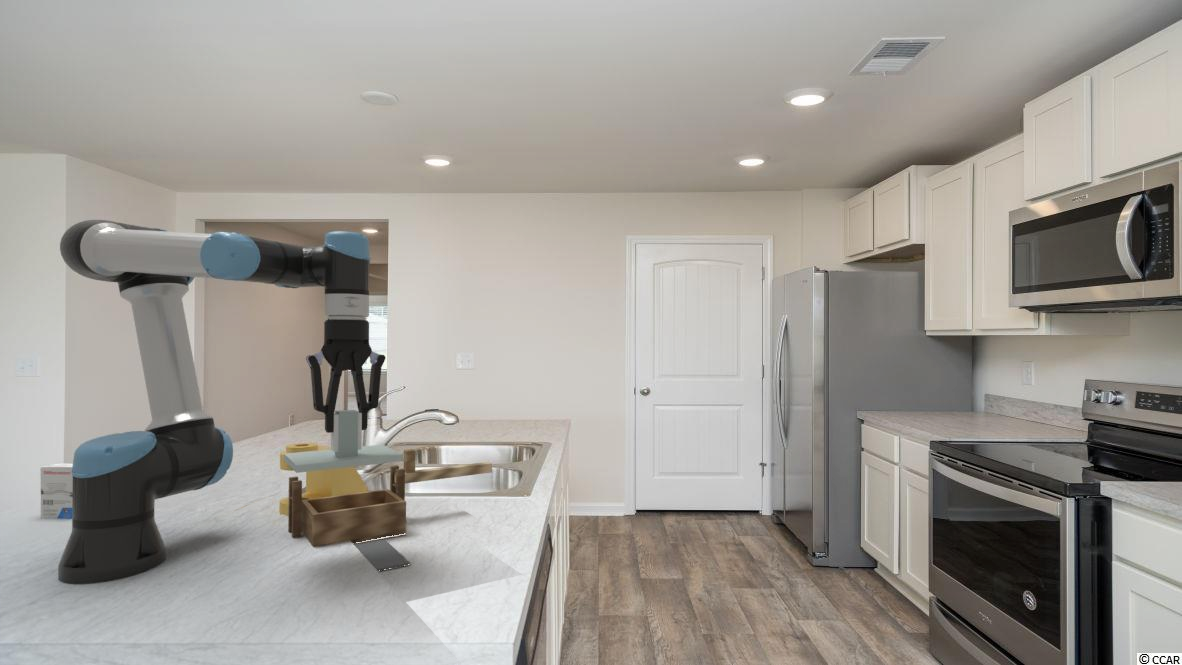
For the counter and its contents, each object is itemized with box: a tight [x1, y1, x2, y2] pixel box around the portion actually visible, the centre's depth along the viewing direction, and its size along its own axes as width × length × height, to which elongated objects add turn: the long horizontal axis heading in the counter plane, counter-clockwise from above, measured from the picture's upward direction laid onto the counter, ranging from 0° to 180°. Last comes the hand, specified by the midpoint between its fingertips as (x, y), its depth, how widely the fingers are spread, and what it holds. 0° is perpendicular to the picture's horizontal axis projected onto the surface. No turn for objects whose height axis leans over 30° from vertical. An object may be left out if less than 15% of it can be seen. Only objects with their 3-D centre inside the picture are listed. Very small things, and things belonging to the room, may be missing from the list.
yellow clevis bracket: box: [278, 442, 369, 516], centre depth 151 cm, size 20×9×16 cm, turn 152°
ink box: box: [40, 462, 73, 520], centre depth 143 cm, size 9×5×12 cm, turn 84°
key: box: [395, 448, 493, 484], centre depth 147 cm, size 23×2×7 cm, turn 124°
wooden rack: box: [287, 464, 407, 548], centre depth 131 cm, size 23×14×12 cm, turn 124°
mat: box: [353, 539, 411, 572], centre depth 114 cm, size 20×15×1 cm
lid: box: [284, 409, 404, 474], centre depth 114 cm, size 18×13×9 cm
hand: (346, 449), depth 112 cm, fingers closed on lid, 3 cm apart
